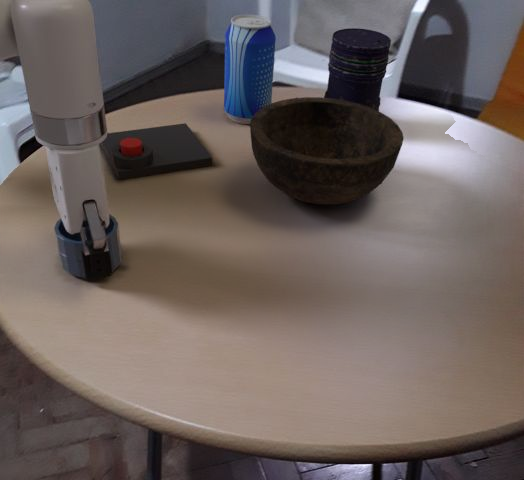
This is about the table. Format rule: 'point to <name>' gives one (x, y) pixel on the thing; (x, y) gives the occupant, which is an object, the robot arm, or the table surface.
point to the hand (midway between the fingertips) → (91, 257)
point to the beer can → (248, 66)
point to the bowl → (324, 148)
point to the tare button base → (156, 151)
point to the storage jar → (357, 66)
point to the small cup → (73, 246)
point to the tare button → (131, 146)
